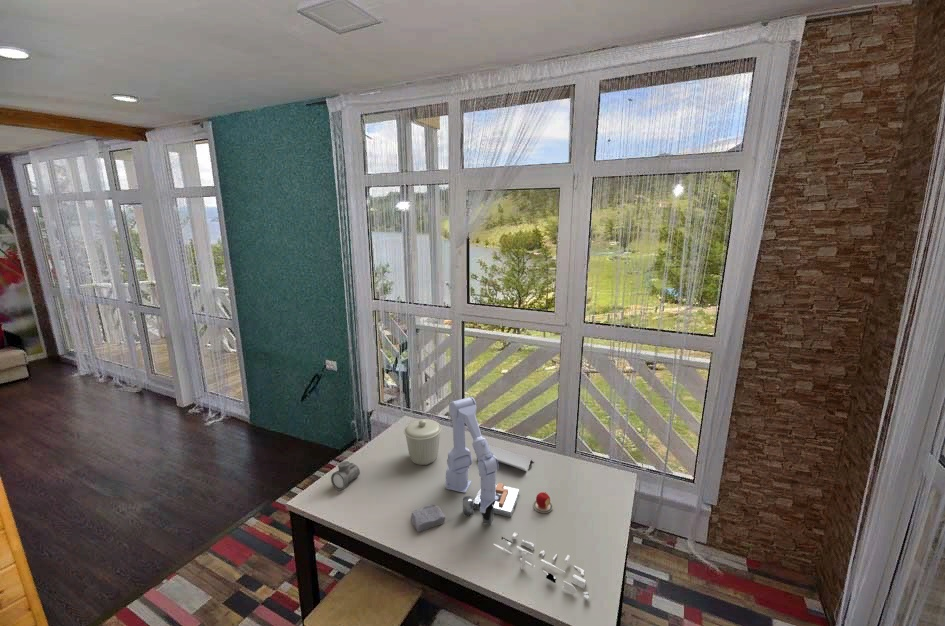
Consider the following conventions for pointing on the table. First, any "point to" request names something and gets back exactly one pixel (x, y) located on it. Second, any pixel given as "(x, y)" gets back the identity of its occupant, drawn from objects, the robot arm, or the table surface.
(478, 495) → the silver base plate
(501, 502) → the bracket
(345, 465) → the pipe fitting
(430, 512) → the stone block
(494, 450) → the z bracket
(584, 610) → the table surface
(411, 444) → the canister
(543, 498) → the red apple on plate
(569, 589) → the miniature set
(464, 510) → the stub post
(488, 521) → the grey rectangular box
